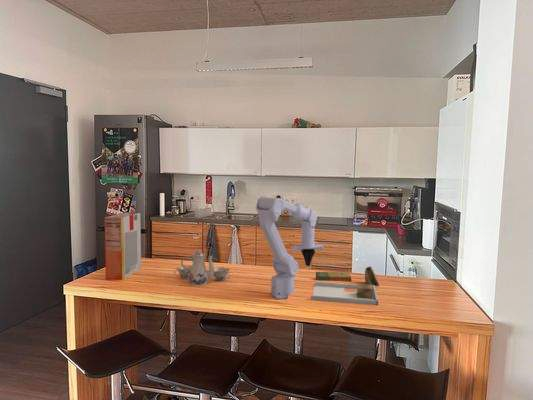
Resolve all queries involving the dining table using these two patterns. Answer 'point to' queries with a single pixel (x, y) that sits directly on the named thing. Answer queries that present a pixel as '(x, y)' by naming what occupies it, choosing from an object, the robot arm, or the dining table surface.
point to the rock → (371, 276)
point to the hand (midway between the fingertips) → (307, 265)
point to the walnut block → (364, 291)
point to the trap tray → (340, 294)
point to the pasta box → (122, 245)
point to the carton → (333, 276)
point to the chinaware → (201, 270)
